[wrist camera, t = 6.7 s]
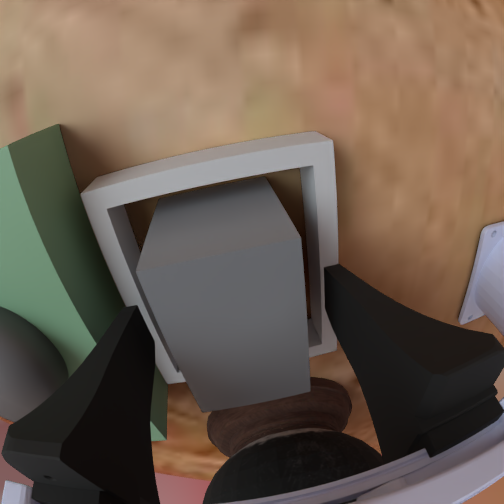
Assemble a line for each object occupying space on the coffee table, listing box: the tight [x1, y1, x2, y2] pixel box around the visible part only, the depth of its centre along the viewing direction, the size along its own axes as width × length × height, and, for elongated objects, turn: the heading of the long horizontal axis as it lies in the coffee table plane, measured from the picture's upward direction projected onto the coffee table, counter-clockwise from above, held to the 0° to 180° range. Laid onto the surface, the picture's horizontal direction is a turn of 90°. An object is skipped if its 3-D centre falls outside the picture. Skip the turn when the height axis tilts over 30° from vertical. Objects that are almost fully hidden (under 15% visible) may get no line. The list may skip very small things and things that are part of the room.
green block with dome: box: [0, 124, 338, 441], centre depth 12 cm, size 20×16×6 cm
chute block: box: [136, 176, 310, 412], centre depth 12 cm, size 4×7×6 cm, turn 9°
